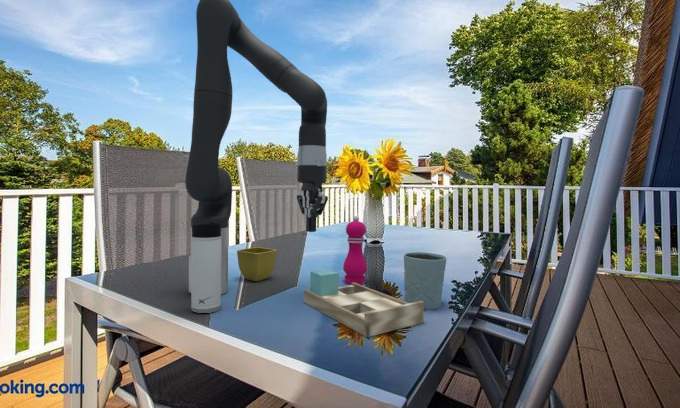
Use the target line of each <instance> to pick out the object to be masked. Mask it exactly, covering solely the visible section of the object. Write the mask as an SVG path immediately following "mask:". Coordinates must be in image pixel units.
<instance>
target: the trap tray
mask: <svg viewBox="0 0 680 408" xmlns="http://www.w3.org/2000/svg"><path fill="white" fill-rule="evenodd" d="M303 303H305V304H306V305H308V306H310V307H312V308H313V309H315V310H317V311H318V312H320V313H322V314H324V315H326V316H328V317H330V318H331V319H333V320H335V321H336V322H339V323H340V324H342V325H343V326H346V327H347V328H349V329H351V330H353V331H355V332H356V333H358V334H360V335H362V336H363V337H366V338H369V337H374V336H377V335H380V334H385V333H389V332H392V331H396V330H400V329H404V328H408V327H411V326H415V325H419V324H423V323H424V317H425V315H424V314H425V312H424V302H423V301H418V302H413V303H408V302H405V300H402V299H399V298H397V297H395V296H391V295H389V294H386V293H383V292H380V291H378V290H375V289H372V288H370V287H367V286H365V285H363V284H357V283H352V284H348V285H343V286H338V294H333V295H327V296H319V295H317V294H315V293H313V292H311V291H310V289H304V291H303Z"/></svg>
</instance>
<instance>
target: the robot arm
mask: <svg viewBox="0 0 680 408" xmlns="http://www.w3.org/2000/svg"><path fill="white" fill-rule="evenodd" d="M195 13H196V14H195V17H196V34H197V35H196V37H197V38H196V41H197V45H196V46H197V47H196V48H197V50H196V51H197V53H196V55H197V56H196V64H195V65H196V66H195V78H194V79H195V83H194V89H193V90H194V92H193V104H192V105H193V111H192V112H193V113H192V114H193V115H192V125H191V142H190V150H189V155H188V161H187V162H188V163H187V166H186V172H185V184H184V185H185V189H186V191H187V193H188V195H189V196H190V198H191V199H193V200H194V201H197V202H198V206H197V210H196V211H195V212H194V214H193V215H191V218H190V255H189V256H188V293H189V294H190V293H191V271H192V225H201V224H211V222H220V223H221V296H222V295H224V294H226V293H227V292H229V291H228V290H229V289H228V288H229V282H228V281H229V220H230V217H231V214H232V201H233V184H232V183H233V182H232V178H231V176H230V174H229V172H228V171H227V170H226V169H224V168H222V167H219V165H220V164H219V156H220V155H219V154H220V148H221V143H222V139H223V137H224V136H225V133H226V130H227V128H228V127H229V123H230V121H231V117H232V110H233V109H232V108H233V107H232V106H233V84H232V83H233V82H232V77H231V71H230V64H229V60H228V48H230V49H231V50H233V51H235V52H236V53H238V54H239V55H240V56H242V57H243V58H244V59H245V60H246V61H248V62H249V63H250V64H251V65H252V66H253V67H254V68H255V69H256V70H257V71H258V72H259V73H260V74H262V76H264V78H266V80H268V81H269V82H270V83H272V84H273V86H274V87H276V88H277V89H278V90H280V91H281V92H283V93H285V94H287V95H288V96H289V97H290V98H291V99H292V100H294V102H296V104H297V105H298V106H299V107H300V111H301V112H300V114H301V117H300V118H301V119H300V121H301V122H300V126H299V130H298V150H297V159H296V163H297V166H296V168H297V169H296V172H297V173H296V176H297V177H296V180H297V181H296V182H297V183H298V184H301V189H300V192H301V193H300V194H297V195H296V200H297V203H298V206H299V209H300V212H301V214H302V215H304V217H305V231H306V232H308V233H316V231H317V218H318V217H319V216H322V214H323V212H324V210H325V207H326V205H327V202H328V200H329V197H328V196H327V195H324V193H323V191H324V189H323V184H326V183H327V171H328V170H327V169H328V168H327V164H328V161H327V156H328V155H327V130H326V129H327V128H326V125H327V114H328V99H327V96H326V92H325V90H324V89H323V87H322V86H321V85H319V84H318V82H316V81H315V80H314V79H313V78H311V77H309V76H308V75H306V74H305V73H303V72H302V71H301V70H299V68H297V67H296V66H295V65H294V64H293V63H292V62H291V61H289V59H287V58H286V57H285V56H284V55H283V54H281V53H280V52H279V51H277V50H276V49H274V48H273V47H272V46H270V45H268V44H266V43H265V42H264V41H262V40H261V39H260V38H258V36H256V35H255V34H254V33H253V32H252V31H251V30H250V29H249V27H247V25H246V24H245V23H244V21H243V20H242V19H241V17H240V16H239V13H238V11H237V9H235V7H234V5H233V3H231V1H230V0H199V1H198V3H197V6H196V12H195Z"/></svg>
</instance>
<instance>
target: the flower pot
mask: <svg viewBox="0 0 680 408" xmlns="http://www.w3.org/2000/svg"><path fill="white" fill-rule="evenodd" d="M277 252H278V250H277V249H275V248H273V249H272V248H266V247H259V246H255V247H248V248H242V249H237V250H236V255H237V264H238V269H239V271H240V274H241V275H242V277H243V278H244V279H245V280H250V281H254V282H258V281H263V280H266V279H268V278H269V277H270V275H271V274H272V273H273V270H274V269H275V266H276V265H275V264H276V257H277Z"/></svg>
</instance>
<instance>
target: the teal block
mask: <svg viewBox="0 0 680 408" xmlns="http://www.w3.org/2000/svg"><path fill="white" fill-rule="evenodd" d="M339 274H340V273H339V272H336V271H334V270H331V269H318V270H311V271H310V279H309V280H310V285H309V286H310V289H309V291H311V292H313V293H315V294H317V295H319V296H327V295H333V294H338V287H339V281H340V280H339V278H340V277H339V276H340V275H339Z"/></svg>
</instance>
